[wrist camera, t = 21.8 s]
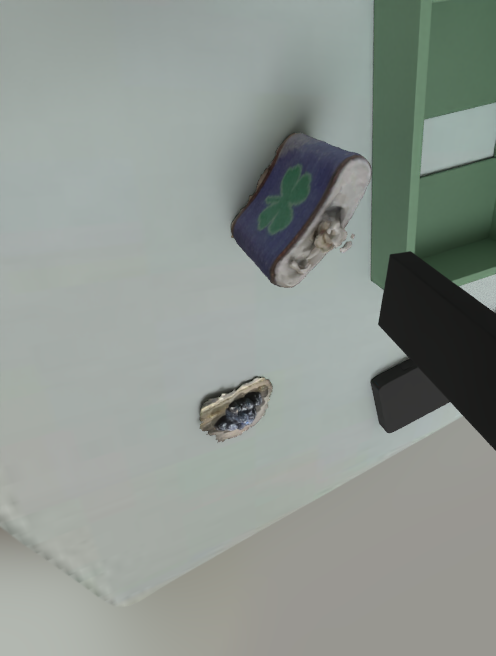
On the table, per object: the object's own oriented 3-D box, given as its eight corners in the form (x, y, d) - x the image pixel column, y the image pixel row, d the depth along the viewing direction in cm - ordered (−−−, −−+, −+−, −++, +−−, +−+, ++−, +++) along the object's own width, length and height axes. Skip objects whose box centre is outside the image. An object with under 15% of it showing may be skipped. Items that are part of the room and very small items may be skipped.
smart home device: (533, 359, 55) (388, 437, 53) (521, 351, 56) (379, 426, 54) (538, 305, 50) (378, 388, 48) (525, 298, 51) (369, 378, 49)
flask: (291, 124, 33) (373, 154, 24) (319, 147, 35) (406, 182, 26) (222, 234, 36) (275, 295, 27) (251, 250, 37) (310, 314, 29)
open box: (373, -5, 31) (421, -12, 27) (539, -34, 33) (605, -44, 29) (370, 280, 43) (403, 304, 39) (492, 242, 45) (534, 261, 41)
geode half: (183, 414, 43) (188, 427, 42) (249, 359, 43) (256, 371, 41) (226, 445, 47) (231, 458, 46) (286, 396, 47) (293, 408, 45)
